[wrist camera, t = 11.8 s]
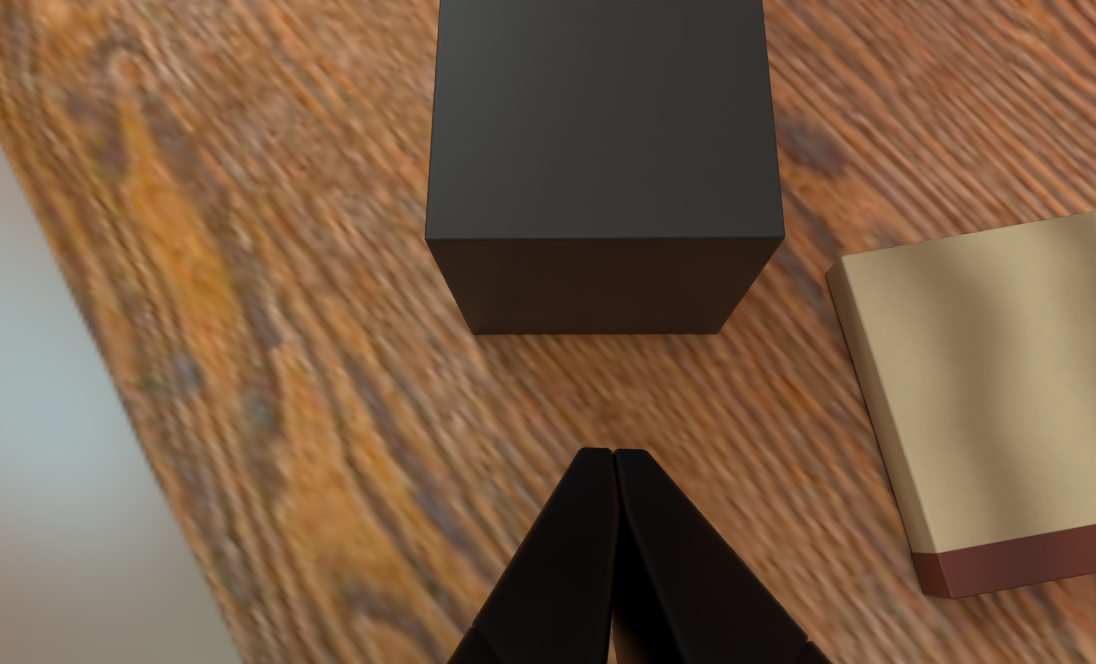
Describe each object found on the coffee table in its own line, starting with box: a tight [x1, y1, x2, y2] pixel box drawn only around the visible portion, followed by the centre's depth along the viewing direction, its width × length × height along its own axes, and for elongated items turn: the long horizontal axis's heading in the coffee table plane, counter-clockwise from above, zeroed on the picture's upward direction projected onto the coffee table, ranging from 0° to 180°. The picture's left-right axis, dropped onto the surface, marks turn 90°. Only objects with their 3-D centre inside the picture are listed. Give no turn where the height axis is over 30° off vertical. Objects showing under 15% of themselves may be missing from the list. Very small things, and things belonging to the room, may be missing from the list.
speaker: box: [425, 0, 785, 334], centre depth 20 cm, size 12×8×8 cm
